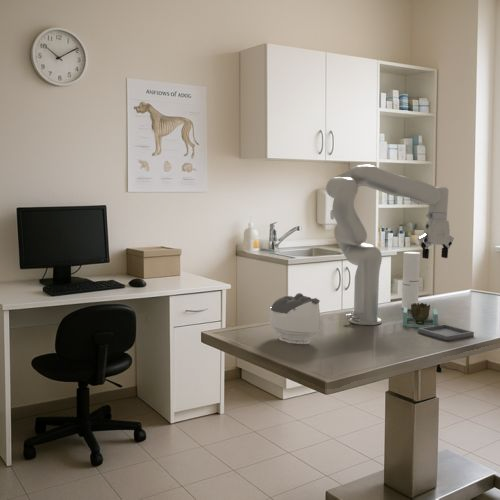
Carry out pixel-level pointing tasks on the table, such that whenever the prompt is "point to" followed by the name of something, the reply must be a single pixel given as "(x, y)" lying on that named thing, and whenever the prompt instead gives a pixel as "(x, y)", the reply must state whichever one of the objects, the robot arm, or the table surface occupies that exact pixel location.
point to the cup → (420, 312)
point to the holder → (434, 320)
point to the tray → (445, 332)
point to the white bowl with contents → (295, 318)
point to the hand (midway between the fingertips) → (434, 257)
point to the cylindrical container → (410, 278)
